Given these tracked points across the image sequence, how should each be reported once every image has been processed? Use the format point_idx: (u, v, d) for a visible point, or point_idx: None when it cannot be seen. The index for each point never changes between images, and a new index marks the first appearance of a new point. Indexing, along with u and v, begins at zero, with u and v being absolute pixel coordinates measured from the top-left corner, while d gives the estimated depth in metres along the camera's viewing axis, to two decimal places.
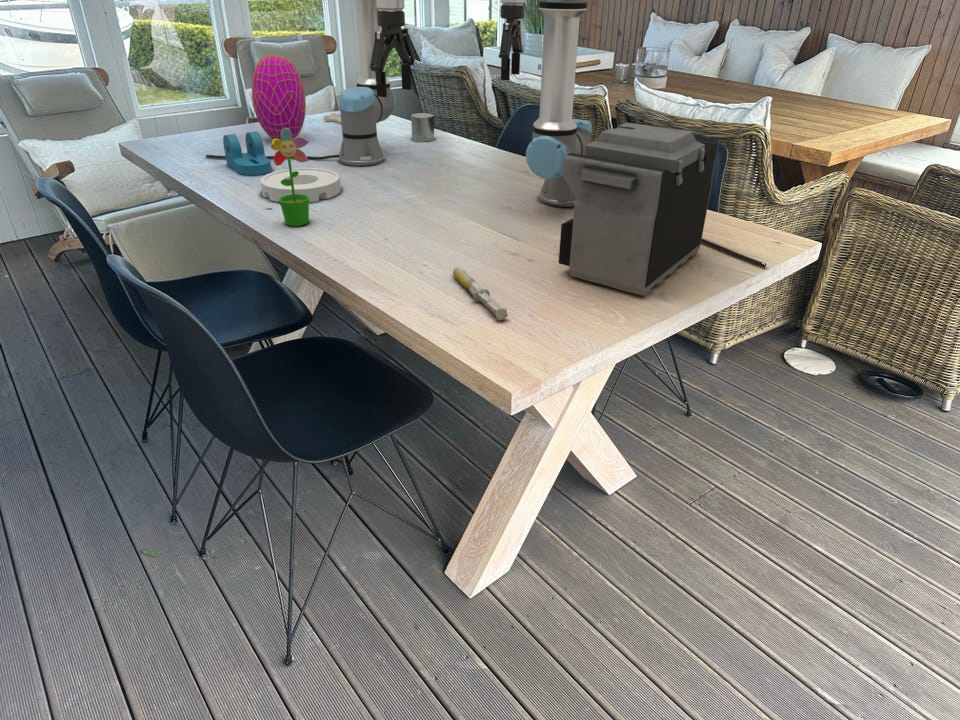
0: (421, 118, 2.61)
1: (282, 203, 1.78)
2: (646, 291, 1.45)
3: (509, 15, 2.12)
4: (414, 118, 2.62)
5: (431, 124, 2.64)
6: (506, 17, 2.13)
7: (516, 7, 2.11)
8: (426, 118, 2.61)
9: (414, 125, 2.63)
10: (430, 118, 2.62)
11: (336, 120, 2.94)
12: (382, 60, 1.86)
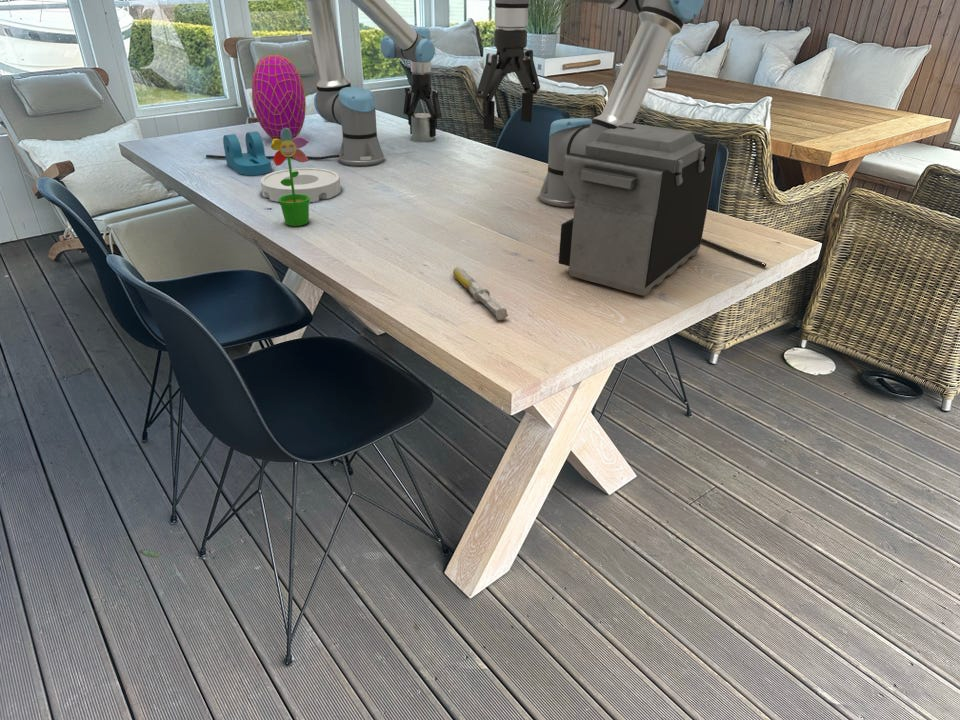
0: (421, 118, 2.61)
1: (282, 203, 1.78)
2: (646, 291, 1.45)
3: (429, 82, 2.56)
4: (414, 118, 2.62)
5: None
6: (428, 84, 2.56)
7: None
8: (426, 118, 2.61)
9: (414, 125, 2.63)
10: (430, 118, 2.62)
11: None
12: (492, 87, 1.57)
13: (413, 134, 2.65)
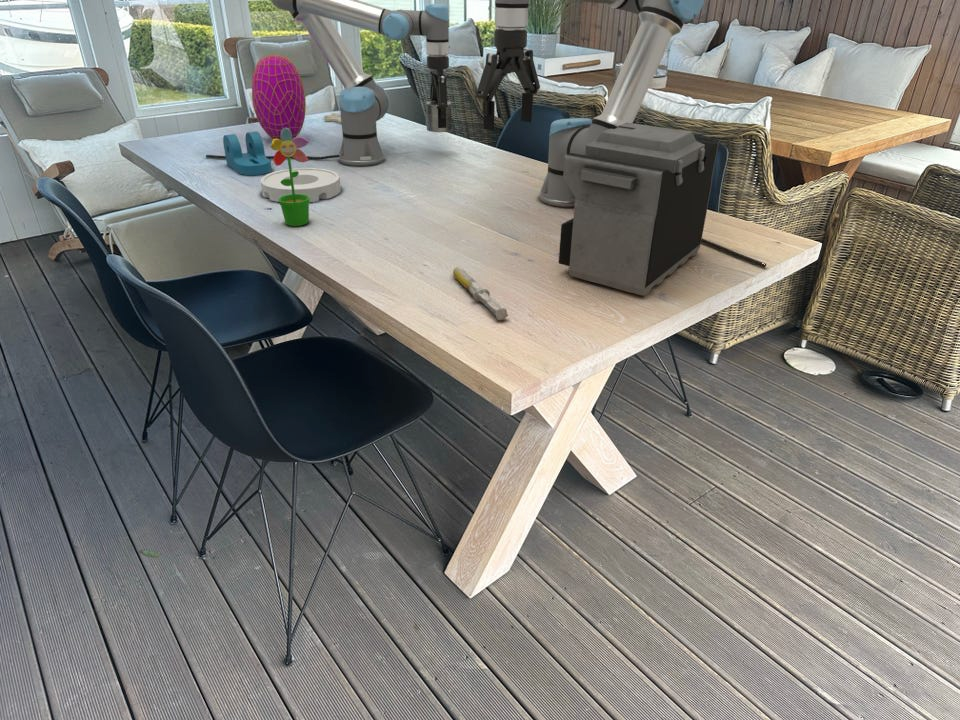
0: (429, 105, 2.36)
1: (282, 203, 1.78)
2: (646, 291, 1.45)
3: (440, 66, 2.29)
4: (426, 104, 2.39)
5: None
6: (437, 68, 2.30)
7: (445, 58, 2.29)
8: (433, 106, 2.35)
9: (426, 111, 2.40)
10: None
11: (336, 120, 2.94)
12: (492, 87, 1.57)
13: None
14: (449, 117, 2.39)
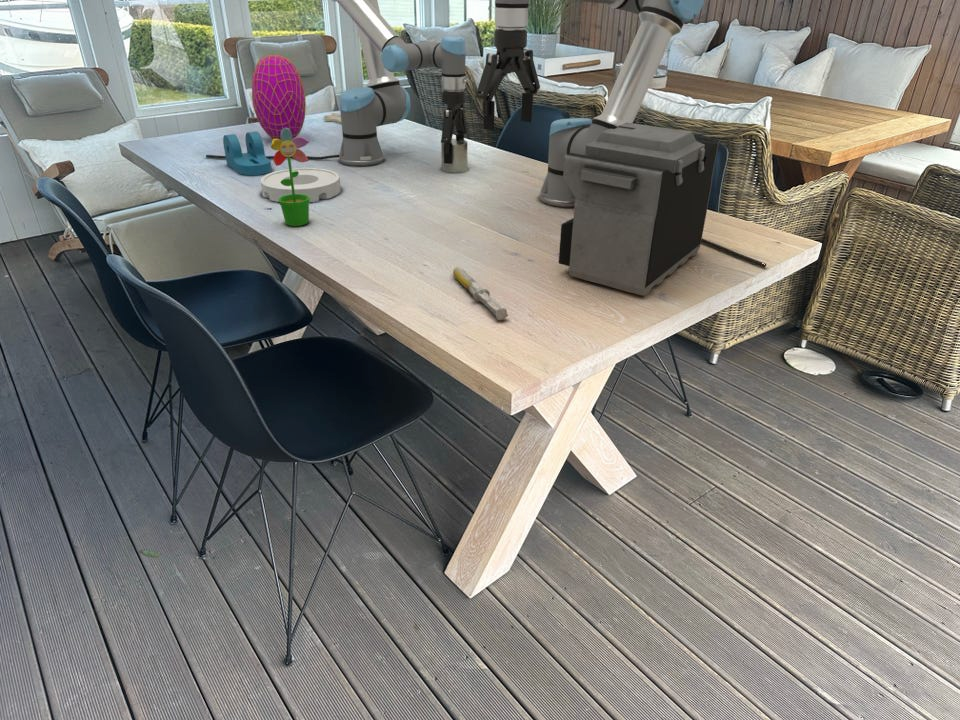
0: (441, 143, 2.26)
1: (282, 203, 1.78)
2: (646, 291, 1.45)
3: (450, 101, 2.17)
4: None
5: None
6: (447, 103, 2.18)
7: (456, 94, 2.16)
8: (443, 144, 2.25)
9: None
10: None
11: (336, 120, 2.94)
12: (492, 87, 1.57)
13: None
14: (460, 158, 2.26)
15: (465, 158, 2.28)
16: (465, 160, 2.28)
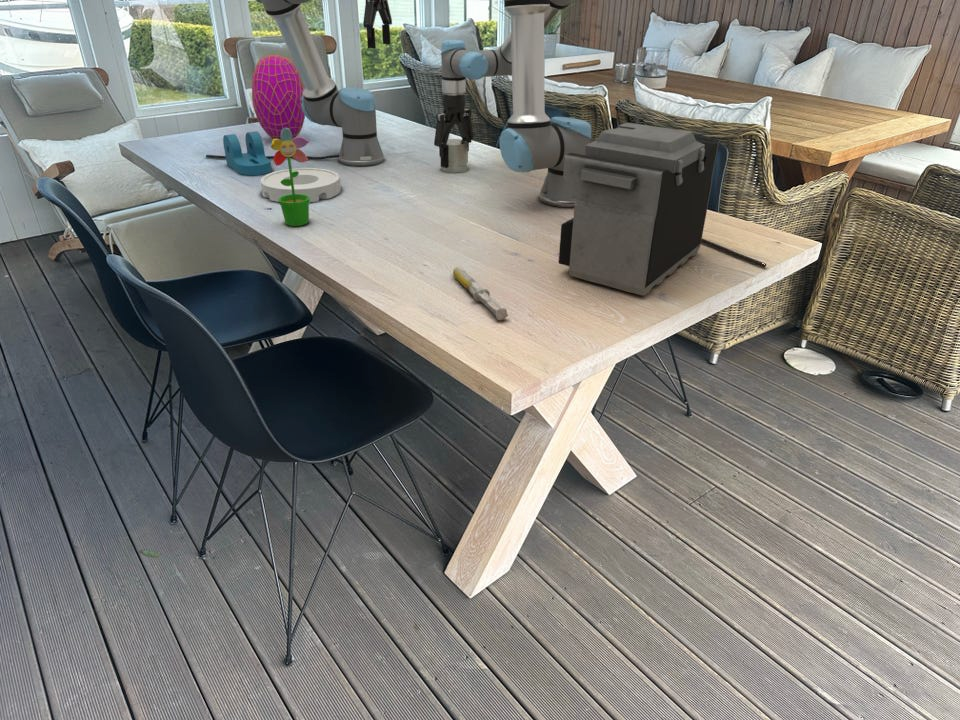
0: None
1: (282, 203, 1.78)
2: (646, 291, 1.45)
3: None
4: None
5: (449, 153, 2.25)
6: None
7: None
8: None
9: None
10: (447, 146, 2.24)
11: None
12: (444, 138, 2.22)
13: None
14: (460, 158, 2.26)
15: (465, 158, 2.28)
16: (465, 160, 2.28)
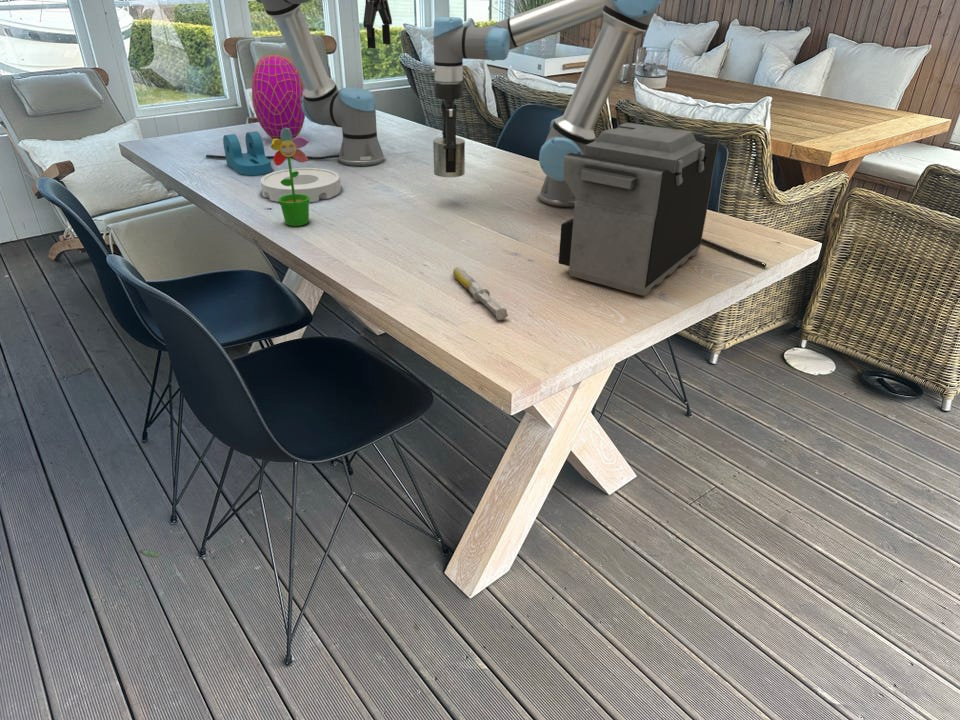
0: (441, 145, 1.87)
1: (282, 203, 1.78)
2: (646, 291, 1.45)
3: None
4: (434, 144, 1.89)
5: (456, 154, 1.88)
6: None
7: None
8: None
9: (434, 153, 1.90)
10: None
11: None
12: None
13: (434, 165, 1.92)
14: (464, 157, 1.91)
15: None
16: None
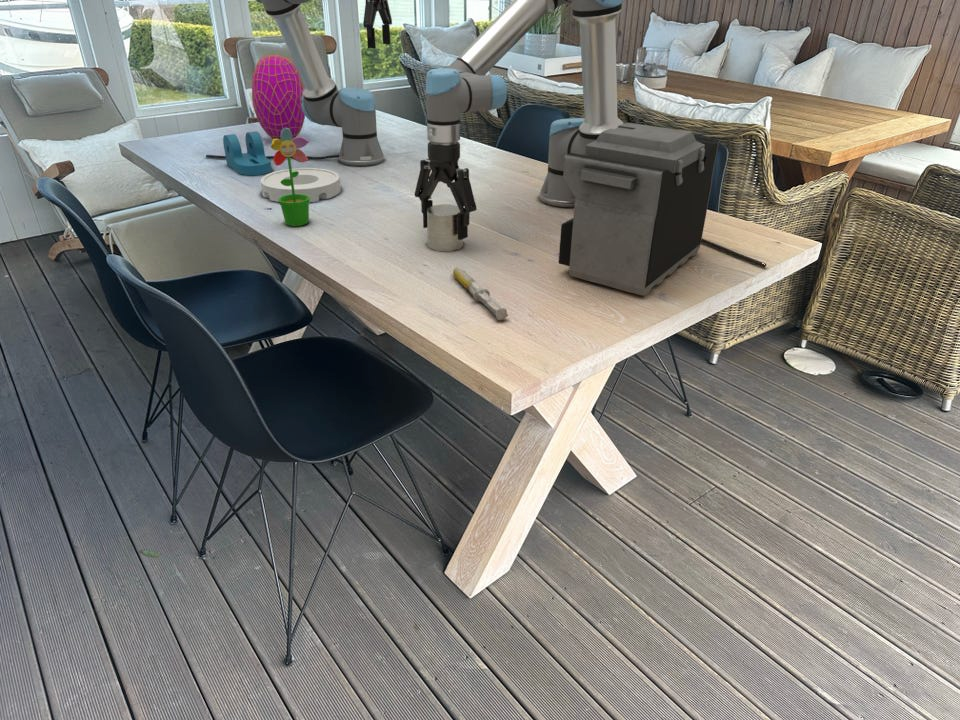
0: (448, 216, 1.63)
1: (282, 203, 1.78)
2: (646, 291, 1.45)
3: None
4: (436, 217, 1.63)
5: None
6: None
7: None
8: (455, 215, 1.64)
9: (435, 227, 1.65)
10: None
11: None
12: None
13: (433, 240, 1.67)
14: None
15: None
16: None
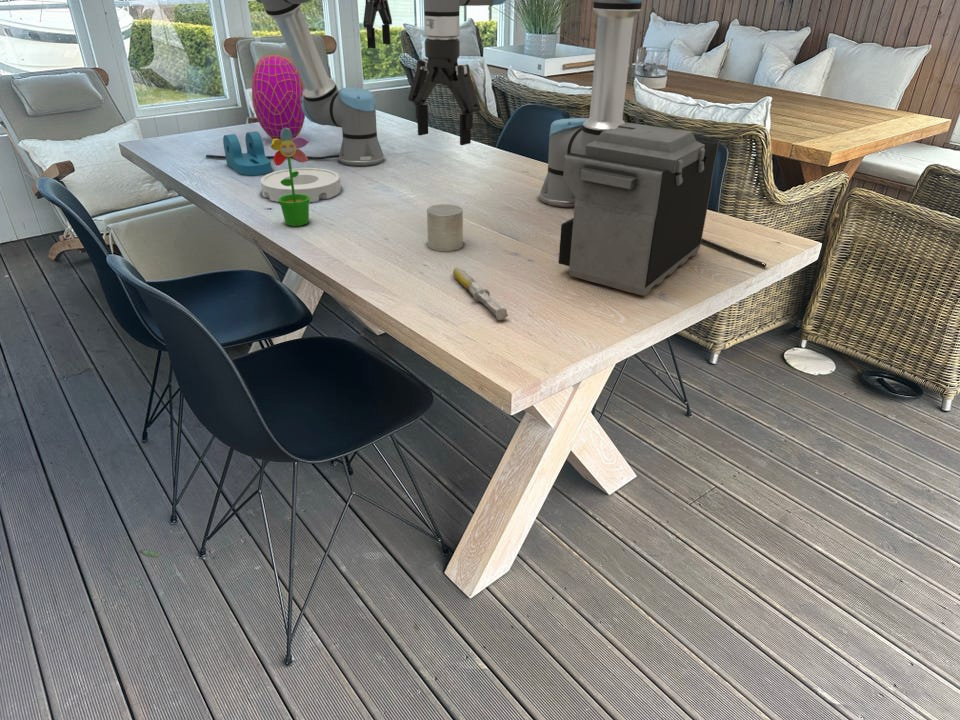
0: (448, 216, 1.63)
1: (282, 203, 1.78)
2: (646, 291, 1.45)
3: None
4: (436, 217, 1.63)
5: (461, 223, 1.67)
6: None
7: None
8: (455, 215, 1.64)
9: (435, 227, 1.65)
10: (460, 214, 1.65)
11: None
12: None
13: (433, 240, 1.67)
14: None
15: None
16: None
